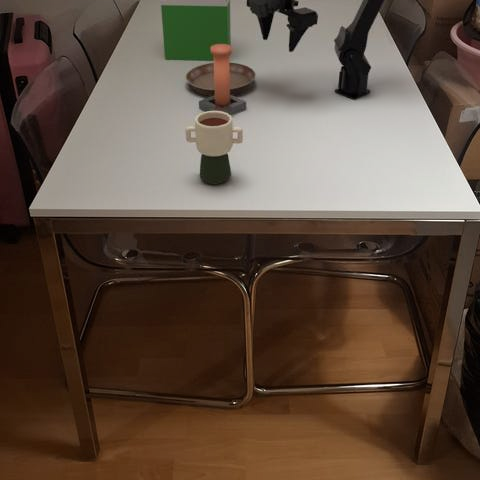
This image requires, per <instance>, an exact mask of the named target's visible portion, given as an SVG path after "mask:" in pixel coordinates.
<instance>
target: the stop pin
mask: <svg viewBox="0 0 480 480" xmlns="http://www.w3.org/2000/svg"><path fill="white" fill-rule="evenodd" d="M232 53H233V46H232V45H231V46H230V45H227V44H216V45H213V46H211V54H213V57H214V61H213V63H214V88H215V105H217V106H219V107H221V108H222V107H225V106H227V105H230V67H229V62H230V57H229V54H230V55H231V54H232Z"/></svg>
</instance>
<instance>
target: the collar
mask: <svg viewBox="0 0 480 480" xmlns="http://www.w3.org/2000/svg"><path fill="white" fill-rule="evenodd" d="M198 110H201V111H202V110H203V112H207V111H222V112H225V113H228V114H229V115H231V116H233V114H234V115H236V114H238V112H239V113H241V112H244V111H246V110H247V101H246V100H244V99H241V98H239V97H237V96H235V95H231V94H230V105H227V106H225V107H222V108H221V107H219V106H217V105H215V95H214V96H208V97H206V98H203V99H201V100H199V101H198ZM243 110H244V111H243ZM240 111H241V112H240Z"/></svg>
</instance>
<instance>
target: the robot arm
mask: <svg viewBox="0 0 480 480" xmlns="http://www.w3.org/2000/svg"><path fill="white" fill-rule="evenodd" d="M384 3H385V0H362V1H361V4H360V5H359V7H358V10H357V12H356V14H355V17H354V18H353V20H352V22H351V23H350V24H349V25H348V26H347V27H344V26H343V25H342V26H340V28H339V31H338V35H337V36H336V38H334V40H333V41H334V47H333V48H334V52H335V54H336V56H337V59H338V61H339V63H340V65H342V66H340V67H341V68H340V71H339V74H338V88H336V89H334V92H335V93H337V94H339V95H342V96H345V97H347V98H349V99H352V100H356V99H360V97H363V96H365V95H367V94H370V93H371V89H369V88H368V82H369V75H370V74H369V73H370V71H371V69H372V66H371V64H370V62H369V61H368V59H367V57H366V55H365V52H366V49H367V44H368V37H369V33H370V31H371V29H372V26H373V24H374V23H375V20H376V19H377V17H378V15H379V12H380V10H381V8H382V7H383V4H384ZM298 6H299V0H246V7H248V8H249V10H250V12H251V14H254V15H255V16H256V17H257V20H258V23H259V29H260V32H261V36H262V40H263V41H267V40H268V38H269V36H270V32H271V28H272V25H273V21H274V15H275V13H276V12H277V13H280V14H282V15H284V16H286V17H287V22H288V23H286V27H287V28H288V30H289V37H288V52H289V53H293V52H294V50H295V49H296V47H297V46H298V44H299V42H300V41H301V39H302V37H303V36H304V35H305V33H306V32H307V30H308V29H309V28H311V27H313V26H315V25H318V20H319V13H318V12H317V11H316V10H314V9H311V8H308V7H306V6H305V7H301V8H300V7H299V8H296V9H295V7H298Z"/></svg>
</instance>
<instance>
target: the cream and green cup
mask: <svg viewBox="0 0 480 480" xmlns="http://www.w3.org/2000/svg"><path fill="white" fill-rule="evenodd" d="M191 132H195V137H192V134H191ZM243 132H244V131H243V128H241V127H238V126H237V127H235V126H234V127H233V118H232V115H231V116H230V115H229V114H228V113H225V112H222V111H207V112H205V111H203V112H201V113H199V114H197V115H196V116H195V118H194V126H191V125H190V126H185V141H186V142H187V143H195V146H196V149H197V151H198V152H199V153H200V154H201V155H200V164H199V177H200V179H201V180H202V181H203V182H206V183H208V184H211V185H212V184H216V185H218V184H219V185H220V184H221V183H222V184H223V183H225V182H226V181H227V180H229V179H230V178H231V176H232V171H231V170H232V169H231V164H230V159H229V158H230V157H229V154H228V153H230V152H231V150H232V147H233V145H234V144H237V145H238V144H243V141H244V139H243V138H244V136H243V135H244V134H243ZM233 133H237V138H233Z"/></svg>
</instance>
